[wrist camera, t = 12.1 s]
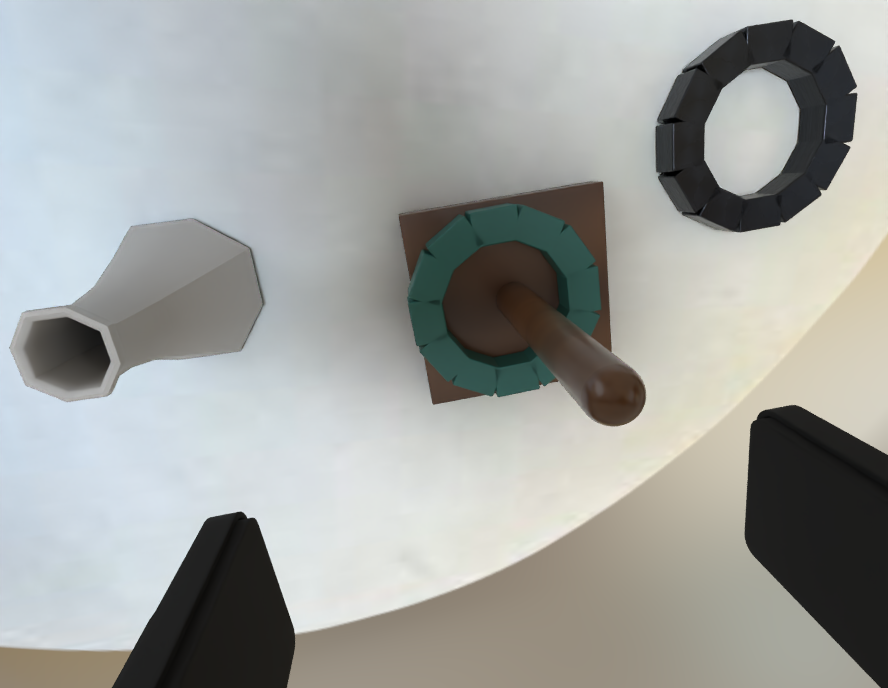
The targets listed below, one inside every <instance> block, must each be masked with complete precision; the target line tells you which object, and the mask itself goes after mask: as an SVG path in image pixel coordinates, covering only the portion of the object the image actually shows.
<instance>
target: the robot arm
mask: <svg viewBox="0 0 888 688" xmlns="http://www.w3.org/2000/svg"><path fill="white" fill-rule="evenodd" d="M747 483H748V484H747V500H746V518H745V540H746V544H747V546H748V548H749V550H750V552H751V553H752V554H753V555H754V557H755V558H756V559H757V560H758V561H759V562H760V563H761V564H762V565H763V566H764V567H765V568H766V569H767V570H768V571H769V572H770V573H771V574H772V575H773V577H774V578H776V580H777V581H778V582H779V583H780V584H781V585H782V586H783V587H784V588H785V589H786V590H787V591H788V592H789V593H790V594H791V595H792V596H793V597H794V598H795V599H796V600H797V601H798V602H799V603H800V604H801V605H802V607H804V609H805V610H806V611H807V612H808V613H809V614H810V615H811V616H812V617H813V618H814V619H815V620H816V621H817V622H818V623H819V624H820V625H821V626H822V627H823V628H824V629H825V630H826V631H827V633H828V634H829V635H830V636H831V637H832V638H833V639H834V640H835V641H836V642H837V643H838V644H839V645H840V646H841V647H842V648H843V649H844V650H845V651H846V652H847V653H848V654H849V655H850V656H851V657H852V658H853V659H854V660H855V662H857V664H858V665H859V666H860V667H861V668H862V669H863V670H864V671H865V672H866V673H867V674H868V675H869V676H870V677H871V678H872V679H873V680H874V681H875V682H876V683H877V684H878V685H879V686H880V687H881V688H888V455H887V454H885V453H883V452H881V451H879V450H878V449H876V448H874V447H872V446H870V445H868V444H867V443H865V442H863V441H861V440H859V439H858V438H856V437H854V436H852V435H850V434H849V433H847V432H845V431H843V430H841V429H840V428H838V427H836V426H834V425H832V424H831V423H829V422H827V421H825V420H823V419H822V418H819V417H818V416H816V415H814V414H812V413H811V412H809V411H807V410H805V409H803V408H802V407H799V406H796V405H789V406H784V407H779V408H774V409H769V410H764V411H762V412H760V413H759V415H758V417H757V420H755V421H753V423H752V424H751V429H750V446H749V464H748V482H747ZM294 649H295V633H294V628H293V624H292V622H291V619H290V616H289V613H288V610H287V607H286V604H285V601H284V598H283V595H282V592H281V589H280V586H279V583H278V581H277V578H276V575H275V572H274V569H273V566H272V563H271V560H270V557H269V554H268V551H267V548H266V545H265V542H264V539H263V537H262V534H261V531H260V528H259V525H258V522H257V520H256V519H255V518H248V519H247V517H246V515H245V514H244V513H243V512H236V513H231V514H225V515H220V516H215V517H210V518H208V519H207V520H206V521H205V522H204V524H203V526H202V528H201V530H200V531H199V533H198V535H197V537H196V539H195V540H194V542H193V544H192V546H191V548H190V550H189V551H188V553H187V555H186V557H185V559H184V560H183V562H182V564H181V566H180V568H179V570H178V571H177V573H176V575H175V577H174V579H173V580H172V582H171V584H170V586H169V588H168V590H167V591H166V593H165V595H164V597H163V599H162V600H161V602H160V604H159V606H158V608H157V610H156V611H155V613H154V614H153V616H152V617H151V618H150V620H149V622H148V624H147V625H146V627H145V629H144V631H143V633H142V634H141V636H140V638H139V640H138V642H137V643H136V645H135V647H134V649H133V651H132V652H131V654H130V656H129V658H128V660H127V662H126V663H125V665H124V667H123V669H122V671H121V673H120V674H119V676H118V678H117V680H116V682H115V683H114V685H113V687H112V688H287V684H288V679H289V674H290V669H291V664H292V659H293V655H294Z"/></svg>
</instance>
